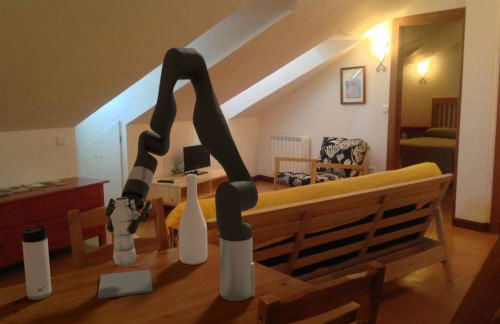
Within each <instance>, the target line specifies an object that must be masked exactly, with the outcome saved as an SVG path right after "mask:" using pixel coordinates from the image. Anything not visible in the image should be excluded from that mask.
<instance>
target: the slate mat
mask: <svg viewBox="0 0 500 324" xmlns="http://www.w3.org/2000/svg"><path fill="white" fill-rule="evenodd" d="M148 293H153V283H152V275H151V269H143V270H141V269H140V270H134V271H133V270H132V271H131V270H130V271H124V272H115V273H106V274H100V277H99V285H98V293H97V299H98V300H99V299H108V298H116V297H123V296H124V297H125V296H132V295H139V294H148Z"/></svg>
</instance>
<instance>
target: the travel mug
mask: <svg viewBox="0 0 500 324" xmlns="http://www.w3.org/2000/svg"><path fill="white" fill-rule="evenodd" d="M47 230H48V226H46V225H44V226H43V225H42V226H34V227H31V228H27V229H25V231H22V232H21V236H22V237H21V238H22V240H21V241H22V253H23V264H24V276H25V277H24V278H25V285H26V286H25V287H26V296H27V297H26V298H27V299H28V300H32V301H38V300H43V299H45V298H48V297H50V296H51V294H52V282H51V280H52V279H51V269H50V267H51V265H50V256H49V244H48V243H49V242H48V233H47Z"/></svg>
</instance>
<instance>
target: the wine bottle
mask: <svg viewBox="0 0 500 324" xmlns="http://www.w3.org/2000/svg"><path fill="white" fill-rule="evenodd" d="M185 179H186V180H185V181H186V203H185V205H184V209H183V213H182V216H181V219H180V222H179V226H178V249H179V260H180V262H181V263H183V264H186V265H200V264H202V263H205V261H207V259H208V225H207V222H206V220H205V219H206V218H205V217H204V214H203V211H202V208H201V205H200V202H199V199H198V185H197V182H198V176H197V174H195V173H188V174H187V175H186V178H185Z"/></svg>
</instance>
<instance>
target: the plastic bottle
mask: <svg viewBox="0 0 500 324" xmlns="http://www.w3.org/2000/svg"><path fill="white" fill-rule="evenodd" d="M114 200H115V206H116V207H115V209H114V211H113V213H112V215H111V220H112V225H113V235H114V236H113V237H114V239H113V241H114V243H113V254H112V255H113V256H112V257H113V258H112V259H113V261H114V263H115V264H116V265H118V266H130V265H132V264H133V263H134V262H135V261H136V259H137V251H136V248H135V242H134V234H133V235H132V234H130V233H129V228H130V226H131V223H132V220H134V214H133V212H132V210H131V209H130V208H129V207H128V205H129V200H128V198H126V197H116V198H115V199H114Z"/></svg>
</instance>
